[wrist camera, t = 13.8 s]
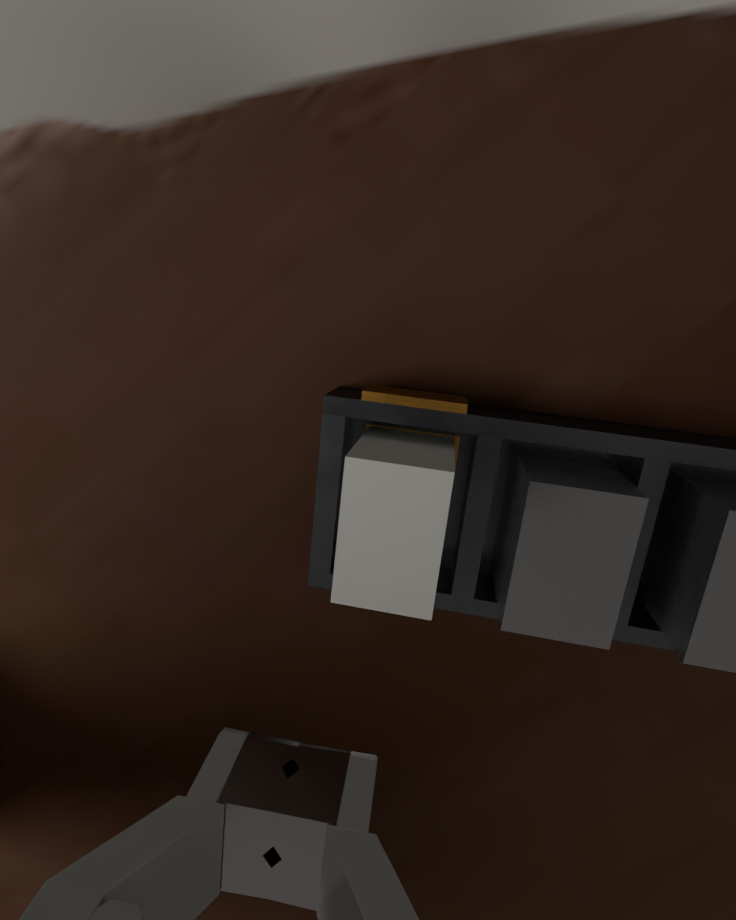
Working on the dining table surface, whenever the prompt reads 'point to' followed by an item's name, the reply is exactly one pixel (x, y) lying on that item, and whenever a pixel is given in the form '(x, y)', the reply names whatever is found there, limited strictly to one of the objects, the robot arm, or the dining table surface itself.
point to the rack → (563, 521)
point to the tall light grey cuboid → (393, 521)
